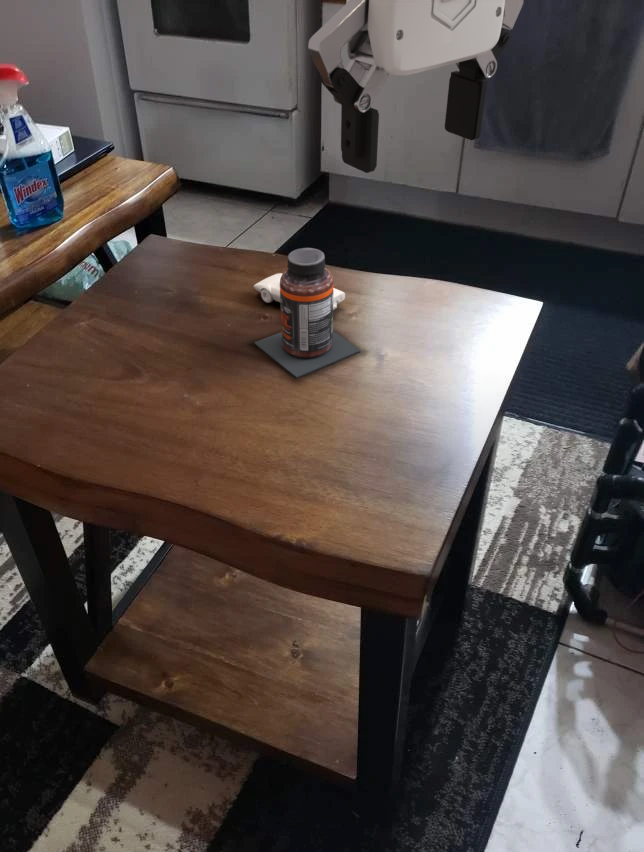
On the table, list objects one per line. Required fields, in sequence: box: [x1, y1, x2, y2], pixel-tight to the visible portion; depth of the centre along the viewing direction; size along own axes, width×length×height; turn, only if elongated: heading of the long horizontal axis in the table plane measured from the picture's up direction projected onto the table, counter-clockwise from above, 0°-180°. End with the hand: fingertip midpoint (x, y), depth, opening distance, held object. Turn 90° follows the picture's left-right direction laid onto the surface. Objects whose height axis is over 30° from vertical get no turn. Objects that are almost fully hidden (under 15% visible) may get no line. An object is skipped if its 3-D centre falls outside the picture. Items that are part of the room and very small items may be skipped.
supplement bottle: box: [279, 247, 335, 358], centre depth 84 cm, size 6×6×11 cm
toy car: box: [253, 272, 346, 311], centre depth 94 cm, size 6×12×3 cm, turn 47°
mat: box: [253, 330, 361, 379], centre depth 88 cm, size 9×9×1 cm
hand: (411, 150), depth 55 cm, fingers open, 9 cm apart
